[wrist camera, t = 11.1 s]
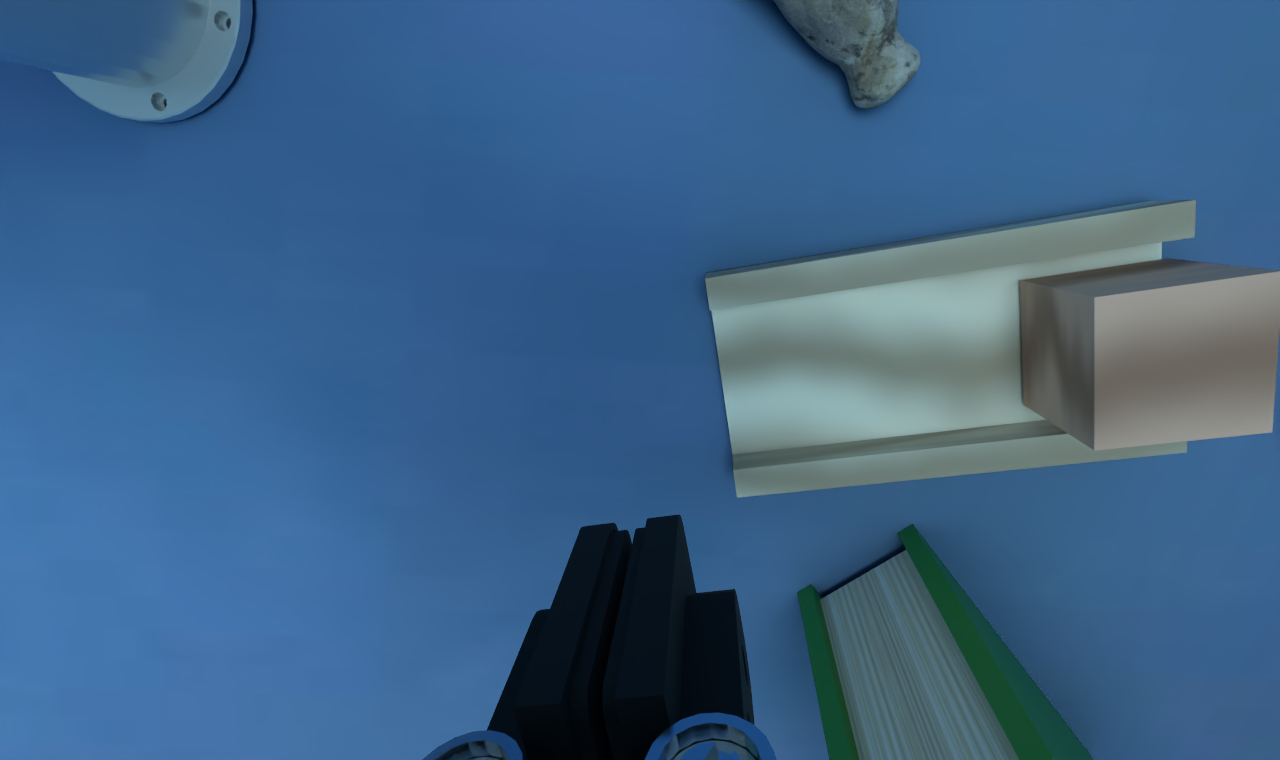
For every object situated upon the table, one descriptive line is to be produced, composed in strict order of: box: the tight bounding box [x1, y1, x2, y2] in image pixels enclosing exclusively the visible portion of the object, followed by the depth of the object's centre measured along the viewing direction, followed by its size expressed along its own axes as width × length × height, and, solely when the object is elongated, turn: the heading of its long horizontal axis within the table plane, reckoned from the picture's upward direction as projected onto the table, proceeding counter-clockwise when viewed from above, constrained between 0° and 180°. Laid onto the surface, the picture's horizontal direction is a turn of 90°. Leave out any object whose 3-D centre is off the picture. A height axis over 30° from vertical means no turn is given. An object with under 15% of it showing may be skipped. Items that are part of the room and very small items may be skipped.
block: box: [1020, 259, 1280, 451], centre depth 26 cm, size 6×6×6 cm
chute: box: [705, 200, 1196, 498], centre depth 30 cm, size 11×20×3 cm, turn 100°
